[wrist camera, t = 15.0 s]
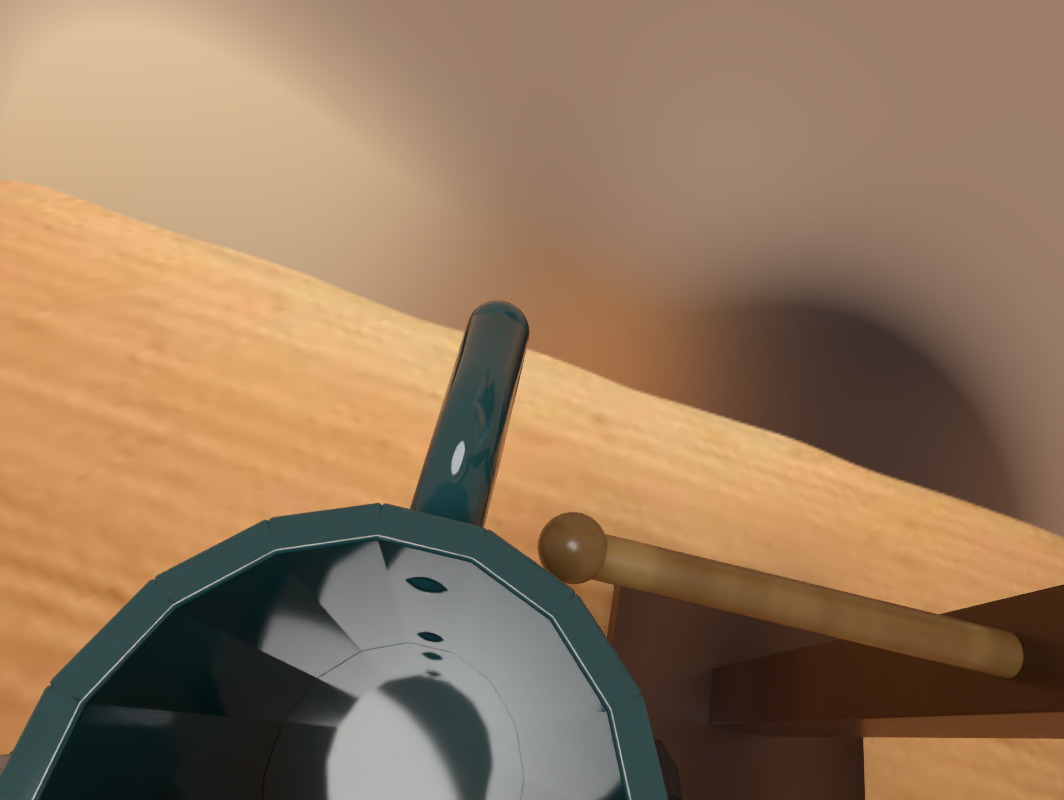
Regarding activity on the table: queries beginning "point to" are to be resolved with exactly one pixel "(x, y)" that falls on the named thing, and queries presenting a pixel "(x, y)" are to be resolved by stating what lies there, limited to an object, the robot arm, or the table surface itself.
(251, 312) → the table surface
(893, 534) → the table surface
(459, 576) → the mug
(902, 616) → the mug stand
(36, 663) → the table surface
